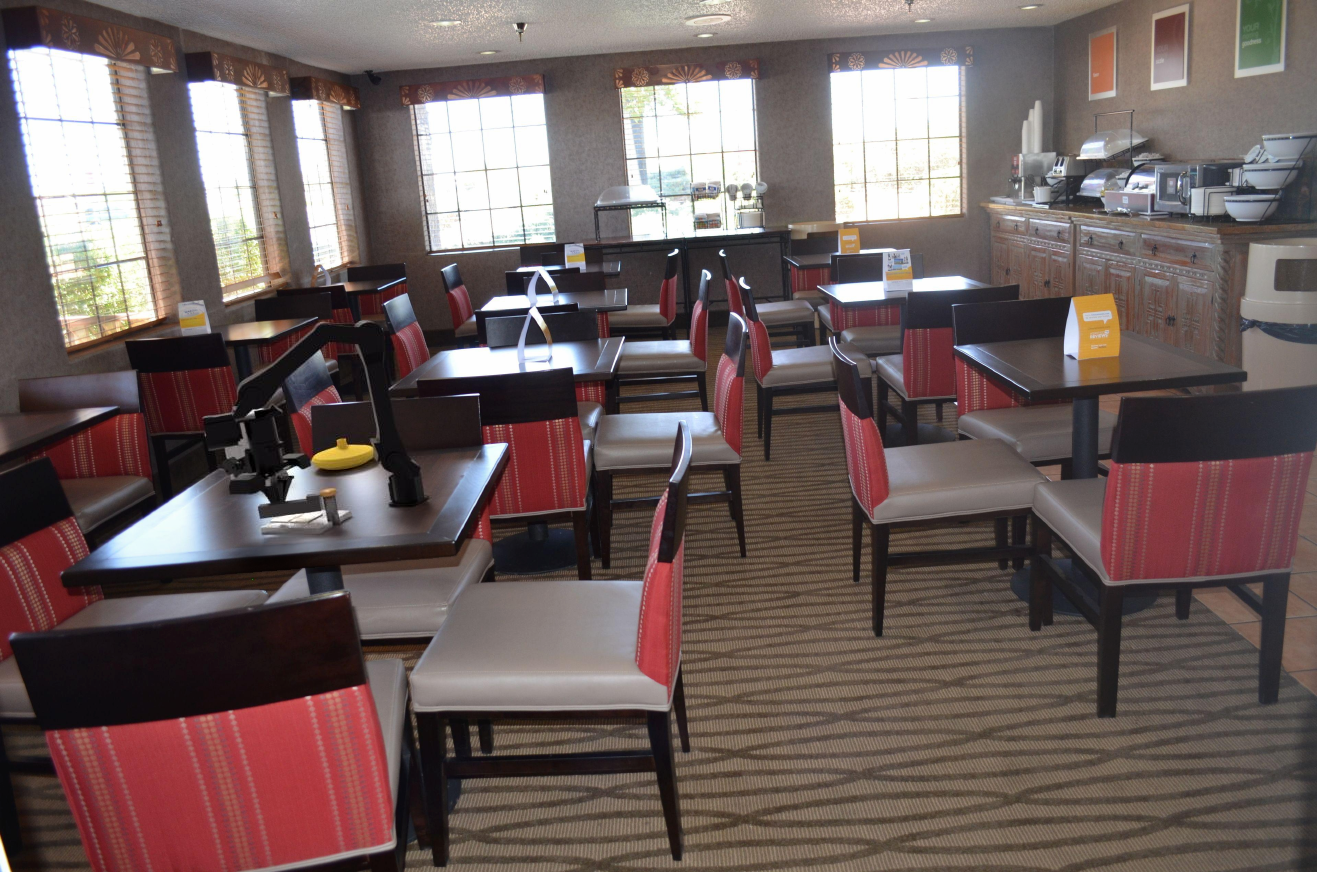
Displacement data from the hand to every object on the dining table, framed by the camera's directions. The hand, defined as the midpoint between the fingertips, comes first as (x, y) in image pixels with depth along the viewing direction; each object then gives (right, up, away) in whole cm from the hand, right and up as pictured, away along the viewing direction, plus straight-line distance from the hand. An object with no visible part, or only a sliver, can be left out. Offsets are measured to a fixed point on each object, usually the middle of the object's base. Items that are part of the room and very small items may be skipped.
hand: (279, 512), depth 196 cm
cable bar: (+5, 0, -2) cm, 6 cm away
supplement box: (-24, +5, +46) cm, 52 cm away
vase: (-2, +8, +48) cm, 49 cm away
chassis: (+5, -2, +1) cm, 6 cm away
